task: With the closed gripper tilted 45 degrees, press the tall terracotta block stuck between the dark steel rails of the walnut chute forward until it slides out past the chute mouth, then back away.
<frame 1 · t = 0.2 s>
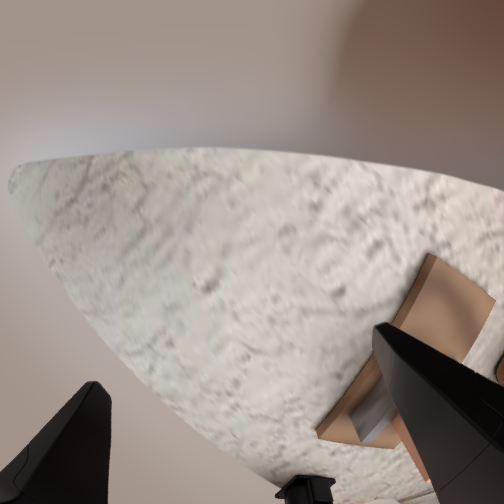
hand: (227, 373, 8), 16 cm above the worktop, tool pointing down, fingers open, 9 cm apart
chute: (411, 367, 26), on the worktop
stuck block: (439, 415, 19), point 7 cm above the worktop, slide at 0.0 cm
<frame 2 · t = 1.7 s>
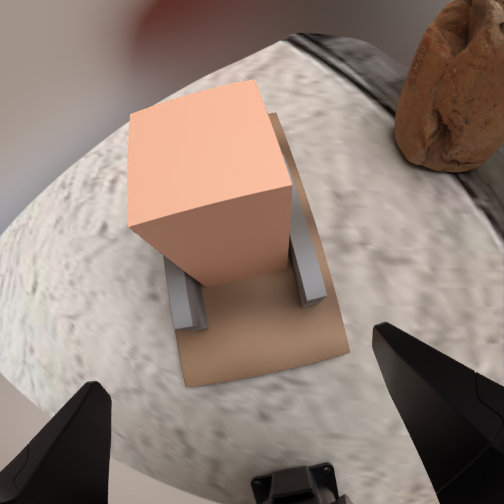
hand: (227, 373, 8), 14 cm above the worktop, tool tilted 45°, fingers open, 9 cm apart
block: (433, 149, 25), on the worktop
chute: (238, 235, 24), on the worktop
stuck block: (223, 205, 16), point 7 cm above the worktop, slide at 0.0 cm
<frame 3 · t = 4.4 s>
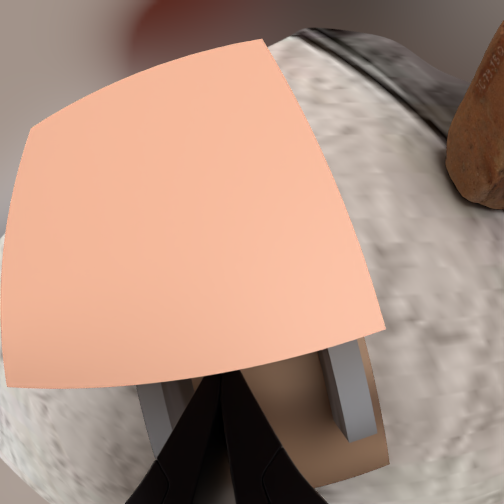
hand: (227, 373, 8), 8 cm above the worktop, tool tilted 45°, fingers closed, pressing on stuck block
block: (485, 177, 18), on the worktop
chute: (244, 314, 17), on the worktop
stuck block: (210, 275, 10), point 8 cm above the worktop, slide at 1.5 cm, touching gripper
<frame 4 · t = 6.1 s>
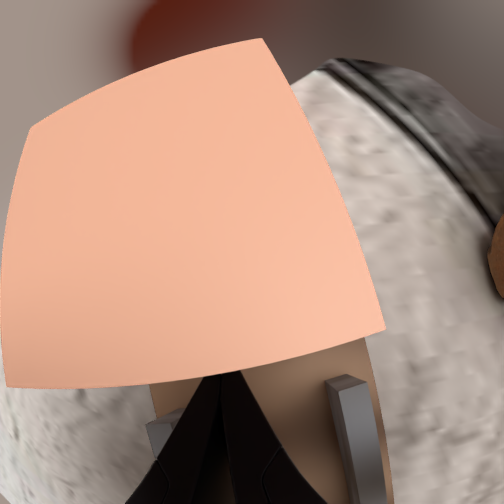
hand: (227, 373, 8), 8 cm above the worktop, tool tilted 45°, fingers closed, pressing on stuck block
chute: (273, 438, 14), on the worktop
stuck block: (210, 274, 10), point 8 cm above the worktop, slide at 9.2 cm, touching gripper
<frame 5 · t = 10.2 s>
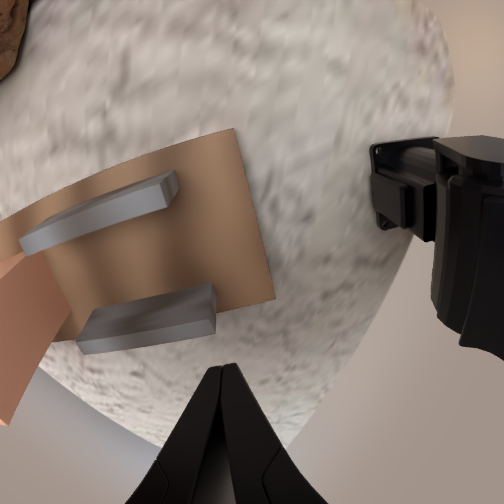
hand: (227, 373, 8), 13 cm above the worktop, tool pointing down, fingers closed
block: (3, 34, 11), on the worktop
chute: (111, 254, 20), on the worktop
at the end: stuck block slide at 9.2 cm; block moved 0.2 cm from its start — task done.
